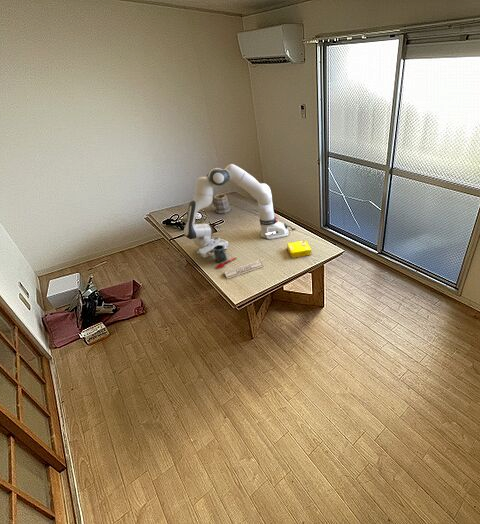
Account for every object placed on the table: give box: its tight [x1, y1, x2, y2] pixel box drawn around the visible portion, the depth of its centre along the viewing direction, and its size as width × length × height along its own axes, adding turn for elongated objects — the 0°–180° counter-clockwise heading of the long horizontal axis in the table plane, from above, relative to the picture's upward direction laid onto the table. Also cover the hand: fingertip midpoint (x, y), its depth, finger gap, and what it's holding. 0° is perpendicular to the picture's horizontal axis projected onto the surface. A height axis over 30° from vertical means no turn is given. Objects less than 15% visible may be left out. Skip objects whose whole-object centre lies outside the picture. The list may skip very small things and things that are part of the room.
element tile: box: [286, 239, 312, 259], centre depth 203 cm, size 15×15×5 cm
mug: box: [213, 245, 228, 264], centre depth 191 cm, size 10×7×10 cm
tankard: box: [212, 194, 231, 214], centre depth 260 cm, size 20×13×15 cm, turn 58°
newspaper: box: [223, 260, 263, 280], centre depth 184 cm, size 24×7×2 cm, turn 125°
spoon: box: [215, 257, 237, 269], centre depth 191 cm, size 15×4×1 cm, turn 141°
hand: (220, 252), depth 191 cm, fingers open, 8 cm apart
